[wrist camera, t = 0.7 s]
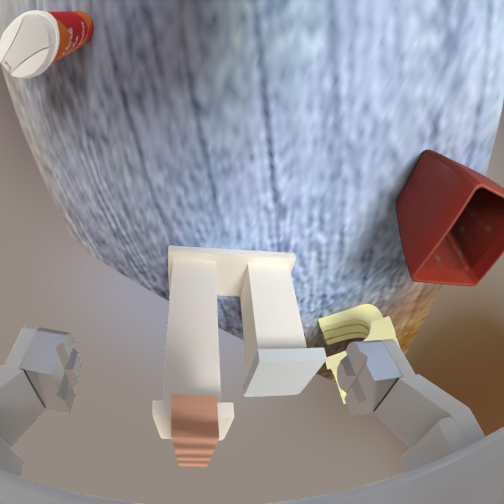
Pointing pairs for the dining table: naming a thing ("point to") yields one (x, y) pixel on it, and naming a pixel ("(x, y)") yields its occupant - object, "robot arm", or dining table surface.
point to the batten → (194, 428)
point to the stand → (254, 328)
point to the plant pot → (450, 222)
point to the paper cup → (42, 40)
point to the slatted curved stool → (354, 330)
